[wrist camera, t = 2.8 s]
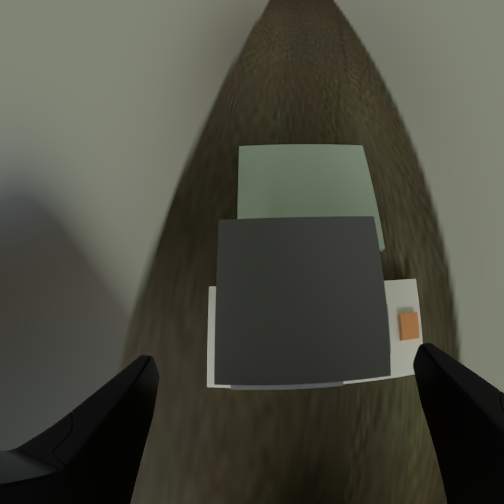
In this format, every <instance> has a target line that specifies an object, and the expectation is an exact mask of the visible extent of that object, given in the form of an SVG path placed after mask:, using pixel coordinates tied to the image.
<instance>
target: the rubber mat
mask: <svg viewBox="0 0 504 504" xmlns="http://www.w3.org/2000/svg"><path fill="white" fill-rule="evenodd" d="M331 216H374V220H375V225H376V231H377V236H378V242H379V249H380V251H383V250H384V249H385V246H384V240H383V234H382V228H381V223H380V218H379V213H378V208H377V203H376V198H375V194H374V189H373V185H372V181H371V177H370V173H369V169H368V165H367V161H366V157H365V153H364V150H363V146H362V145H335V144H281V145H253V146H239V168H238V208H237V219H250V218H282V217H331Z"/></svg>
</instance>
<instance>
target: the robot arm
mask: <svg viewBox="0 0 504 504" xmlns="http://www.w3.org/2000/svg"><path fill="white" fill-rule="evenodd" d="M413 369H414V373H415V377H416V382H417V386H418V391H419V396H420V400H421V404H422V408H423V411H424V414H425V417H426V420H427V424H428V427H429V430H430V434H431V437H432V441H433V444H434V448H435V452H436V455H437V459H438V463H439V467H440V471H441V475H442V480H443V484H444V489H445V493H446V498H447V504H504V393H503V392H501V391H499V390H498V389H497V388H495V387H494V386H493V385H491V384H490V383H488V382H487V381H486V380H484V379H483V378H481V377H479V376H478V375H477V374H476V373H474V372H473V371H471V370H470V369H468V368H467V367H465V366H464V365H462V364H461V363H460V362H458V361H457V360H455V359H454V358H452V357H451V356H449V355H448V354H446V353H445V352H443V351H442V350H441V349H439V348H438V347H436V346H435V345H433V344H431V343H425V344H421V345H420V346H419V347H418V350H417V353H416V356H415V358H414V361H413ZM158 383H159V372H158V369H157V366H156V363H155V361H154V358H153V357H152V356H145V355H141V356H139V357H138V358H137V359H136V360H134V361H133V362H132V363H131V364H129V365H128V366H127V367H126V368H124V369H123V370H122V371H121V372H120V373H118V374H117V375H116V376H115V377H113V378H112V379H111V380H110V381H108V382H107V383H106V384H105V385H103V386H102V387H101V388H100V389H99V390H97V391H96V392H95V393H94V394H92V395H91V396H90V397H89V398H87V399H86V400H85V401H84V402H82V403H81V404H80V405H79V406H77V407H76V408H75V409H74V410H72V412H70V413H68V414H67V415H66V416H65V417H63V418H62V419H61V420H59V421H58V422H57V423H55V424H54V425H53V426H51V427H50V428H48V429H47V430H45V431H44V432H42V433H41V434H39V435H37V436H36V437H34V438H33V439H31V440H29V441H28V442H26V443H25V444H23V445H21V446H20V447H18V448H16V449H12V450H6V451H0V504H130V503H131V498H132V494H133V490H134V486H135V482H136V478H137V474H138V470H139V466H140V462H141V458H142V455H143V451H144V447H145V443H146V440H147V436H148V433H149V429H150V425H151V422H152V418H153V413H154V407H155V401H156V395H157V389H158Z"/></svg>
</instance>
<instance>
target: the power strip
mask: <svg viewBox="0 0 504 504" xmlns="http://www.w3.org/2000/svg"><path fill="white" fill-rule="evenodd" d="M384 285H385V294H386V304H387V314H388V327H389V342H390V363H391V376H384V377H377V378H369V379H361V380H352V381H341V382H330V383H316V384H297V385H214V360H215V306H216V286H209V305H208V345H207V387H217V388H231V390H284V389H307V388H323V387H335V386H343V384H350V383H359V382H368V381H375V380H383V379H389V378H396V377H402V376H408V375H414V374H415V373H414V369H413V361H414V358H415V356H416V353H417V350H418V347H419V346H420V345H421V344H423V342H422V328H421V317H420V308H419V299H418V291H417V284H416V279H404V280H388V281H384Z"/></svg>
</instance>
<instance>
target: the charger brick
mask: <svg viewBox="0 0 504 504" xmlns="http://www.w3.org/2000/svg"><path fill="white" fill-rule="evenodd" d="M384 376H391V363H390V342H389V327H388V314H387V304H386V294H385V285H384V277H383V269H382V262H381V255H380V249H379V242H378V236H377V231H376V225H375V220H374V216H331V217H282V218H250V219H225V220H219V226H218V248H217V273H216V306H215V360H214V385H297V384H316V383H330V382H341V381H352V380H361V379H369V378H377V377H384Z"/></svg>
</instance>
